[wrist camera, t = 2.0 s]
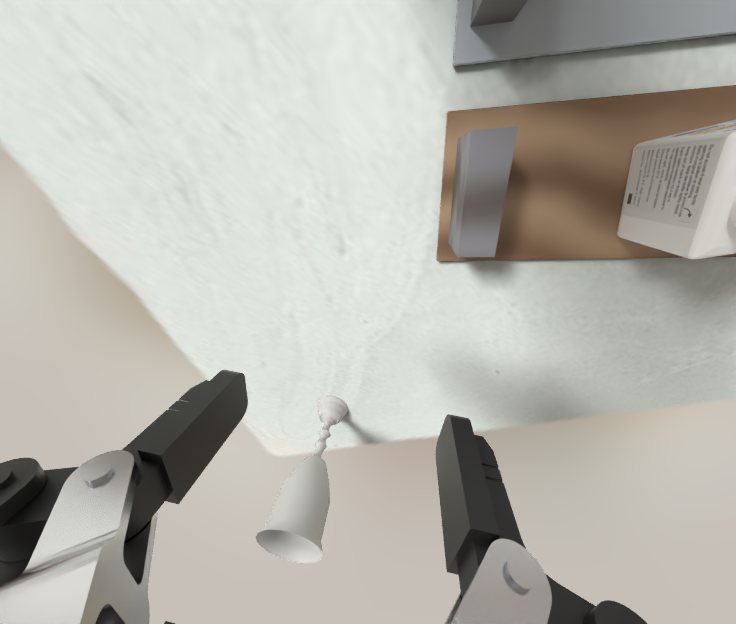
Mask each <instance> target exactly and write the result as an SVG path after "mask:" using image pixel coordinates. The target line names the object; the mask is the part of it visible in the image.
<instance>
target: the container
mask: <svg viewBox="0 0 736 624" xmlns="http://www.w3.org/2000/svg"><path fill="white" fill-rule="evenodd" d="M617 236H619V237H620V238H623V239H627V240H630V241H633V242H636V243H640V244H643V245H646V246H649V247H653V248H656V249H659V250H662V251H666V252H669V253H672V254H675V255H679V256H682V257H685V258H688V259H702V258H709V257H715V256H722V255H729V254H735V253H736V120H733V121H728V122H724V123H720V124H716V125H712V126H708V127H704V128H699V129H695V130H691V131H687V132H683V133H679V134H675V135H670V136H666V137H662V138H658V139H654V140H650V141H646V142H641V143H639V144H637V145H636V146H635V147H634V149H633V153H632V158H631V163H630V169H629V174H628V179H627V184H626V189H625V194H624V200H623V205H622V210H621V215H620V220H619V226H618V231H617Z"/></svg>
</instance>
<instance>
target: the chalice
mask: <svg viewBox="0 0 736 624" xmlns="http://www.w3.org/2000/svg"><path fill="white" fill-rule="evenodd" d="M318 412H319V414H318V415H319V418H320V420H321V421H322V422H323V423H324V427H323V428H322V430H320V431H319V435H320V439H319V440H318V442H316V443H315V446H316V451H315V454H314V456H308V457H306V458H305V459H304V461H302V462H301V463H300V464H299V465H298V467H296V468H295V469H294V470H293V472H292V473H291V474H290V475H289V477H288V478H287V479H286V480H285V482H284V483H283V485H282V487H281V488H280V491H279V494H278V496H277V499H276V501H275V504H274V506H273V509H272V511H271V514H270V516H269V519H268V522H267V524H266V525H265V526H264V527H263V528H262V529H261V530H260V531H259V532H258V534H257V536H256V539H257V542H258V543H259V545H260V546H261V547H263V548H264V549H265V550H266V551H268V552H270V553H272V554H274V555H275V556H278V557H280V558H283V559H286V560H290V561H294V562H300V563H313V562H317V561H319V560H320V559H321V558H322V545H321V539H322V535H323V530H324V525H325V522H326V517H327V513H328V508H329V504H330V494H329V493H330V492H329V479H328V474H327V468H326V463H325V461H324V460H323V459H321V454H322V452H323V450H324V449H325V448H326V439H327V438H328V437H330V433H329V428H330V426H331V425H335V424H337V423H339V422H340V421H341V419H343V417H344V416H345V415H346V414H347V412H348V408H347V405H346V404H345V402H344V401H342V400H341V399H339V398H337V397H333V396H326V397H322V398H321V399H320V400H319V401H318Z"/></svg>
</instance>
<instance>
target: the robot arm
mask: <svg viewBox="0 0 736 624" xmlns="http://www.w3.org/2000/svg"><path fill="white" fill-rule="evenodd" d="M247 405H248V399H247V391H246V383H245V376H244V374H243V373H238V372H233V371H228V370H222V371H220V372H219V373H218V374H217V375H216V376H215V377H214V378H213V379H212V380H210V381H207V380H206V381H204V382H202V383H200V384H198V385H196V386H195V387H193V388H191V389H190V390H189V391H188V392H186V393H185V394H184V395H183V396H182V397H181V398H180V399H179V401H176V402H175V403H174V404H173V405H172V406H171V407H170V408H169V410H168V411H167V410H166V411H165V412H164V413H163V414H162V415H161V416H160V417H159V418H157V419H156V420H155V421H154V422H153V423H152V424H151V425H150V426H148V427H147V428H146V429H145V430H144V431H143V432H142V433H141V434H140V435H139V436H137V437H136V438H135V439H134V440H133V441H132V442H131V443H130V444H128V445H127V446H126V447H125V448H124V449H123V450H117V451H111V452H107V453H104V454H101V455H99V456H96V457H94V458H92V459H90V460H89V461H87V462H86V463H84V464H83V465H81V466H80V467H73V468H63V469H54V470H43V469H42V468H41V466H40V465H39V463H38V462H37V461H36V460H35V459H32V458H19V459H14V460H10V461H7V462H3V463H1V464H0V624H149V601H148V580H149V573H150V566H151V559H152V552H153V544H154V537H155V530H156V523H157V510H158V509H159V508H160V507H161V505H162V504H163V503H164V501H168V502H172V503H176V504H179V503H180V501H181V500H182V499H183V497H184V496H185V495H186V493H187V492H188V490H189V489H190V488H191V486H192V485H193V484H194V482H195V481H196V480H197V478H198V477H199V476H200V474H201V473H202V472H203V470H204V469H205V467H206V466H207V465H208V464H209V462H210V461H211V460H212V458H213V457H214V455H215V454H216V453H217V451H218V450H219V449H220V447H221V446H222V445H223V443H224V442H225V441H226V439H227V438H228V437H229V435H230V434H231V433H232V431H233V430H234V428H235V427H236V426H237V425H238V423H239V422H240V420H241V419H242V418H243V416H244V414H245V412H246V409H247ZM436 465H437V474H438V485H439V495H440V506H441V516H442V526H443V536H444V547H445V557H446V567H447V572H450V573H454V574H458V575H459V581H460V589H461V592H460V594H459V596H458V598H457V600H456V602H455V604H454V606H453V608H452V610H451V612H450V614H449V616H448V618H447V620H446V622H445V624H647V623H646V622H645V621H644V620H643V619H642V618H641V617H640V616H638V615H637V614H636V613H635V612H633V611H632V610H630V609H629V608H627V607H626V606H624V605H622V604H620V603H617V602H614V601H603V602H601V603H599V604H598V605H597V606H594V605H593V604H591V603H589V602H588V601H586V600H584V599H583V598H581V597H580V596H578V595H576V594H575V593H573V592H571V591H570V590H568V589H566V588H565V587H563V586H561V585H560V584H558V583H557V582H555V581H554V580H552V579H551V578H550V577H549V576H548V575H546V574H545V573H544V571H543V569H542V567H541V566H540V564H539V563H538V562H537V560H536V559H535V558H534V557H533V556H532V554H531V553H529V551H527V550H526V548H525V546H524V544H523V541H522V539H521V536H520V533H519V530H518V527H517V524H516V521H515V517H514V514H513V511H512V508H511V505H510V502H509V499H508V496H507V493H506V489H505V486H504V484H503V483H502V477H501V474H500V471H499V470H498V464H497V461H496V458H495V455H494V452H493V450H492V449H491V447H490V446H489V445H488V443H487V442H486V440H485V439H484V438H483V437H482V436H477V435H474V433H473V429H472V426H471V422H470V420H469V419H468V418H464V417H459V416H454V415H449V414H448V415H447V416H446V418H445V421H444V424H443V427H442V430H441V433H440V435H439V438H438V442H437V447H436ZM164 624H174V623H171V622H167V621H166V622H165V623H164Z"/></svg>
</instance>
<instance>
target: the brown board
mask: <svg viewBox="0 0 736 624" xmlns="http://www.w3.org/2000/svg"><path fill="white" fill-rule="evenodd" d="M733 120H736V85H732V86H721V87H711V88H700V89H689V90H678V91H667V92H656V93H645V94H634V95H623V96H612V97H601V98H591V99H580V100H569V101H558V102H547V103H536V104H525V105H514V106H503V107H492V108H482V109H471V110H460V111H449V112H447V123H446V137H445V151H444V165H443V179H442V193H441V207H440V220H439V234H438V248H437V261H474V260H542V259H610V258H678V257H682V256H679V255H675V254H672V253H669V252H666V251H662V250H659V249H656V248H653V247H649V246H646V245H643V244H640V243H636V242H633V241H630V240H627V239H623V238H620V237H619V236H617V231H618V226H619V220H620V215H621V210H622V205H623V200H624V194H625V189H626V184H627V179H628V174H629V169H630V163H631V158H632V153H633V149H634V147H635V146H636V145H637V144H639V143H641V142H646V141H650V140H654V139H658V138H662V137H666V136H670V135H675V134H679V133H683V132H687V131H691V130H695V129H699V128H704V127H708V126H712V125H716V124H720V123H724V122H728V121H733ZM715 257H736V253H735V254H729V255H722V256H715Z"/></svg>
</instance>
